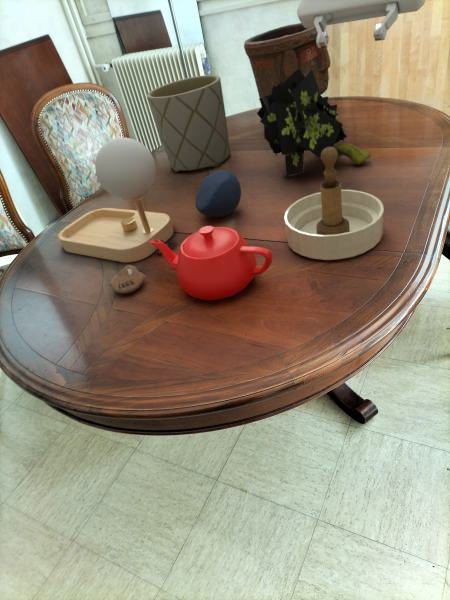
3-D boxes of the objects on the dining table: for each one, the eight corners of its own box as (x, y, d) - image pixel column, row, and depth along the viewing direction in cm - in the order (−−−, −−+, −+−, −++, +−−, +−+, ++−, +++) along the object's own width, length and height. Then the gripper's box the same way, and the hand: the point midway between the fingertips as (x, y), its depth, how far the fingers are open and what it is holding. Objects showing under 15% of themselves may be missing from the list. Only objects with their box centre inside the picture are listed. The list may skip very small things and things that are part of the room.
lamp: (56, 250, 109) (6, 155, 94) (101, 218, 120) (63, 128, 104) (151, 268, 92) (109, 156, 77) (193, 228, 103) (164, 123, 87)
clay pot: (306, 147, 130) (297, 36, 112) (242, 138, 150) (226, 43, 131) (354, 119, 141) (353, 15, 123) (289, 115, 161) (279, 23, 143)
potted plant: (365, 153, 121) (311, 57, 113) (380, 160, 100) (315, 43, 93) (301, 195, 128) (246, 107, 121) (302, 209, 107) (237, 104, 100)
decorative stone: (230, 199, 112) (222, 162, 106) (253, 212, 103) (246, 174, 97) (191, 215, 109) (181, 179, 103) (212, 231, 100) (203, 192, 94)
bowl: (380, 211, 91) (381, 185, 88) (385, 261, 77) (386, 233, 73) (292, 217, 97) (289, 193, 93) (282, 264, 83) (278, 238, 79)
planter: (239, 144, 145) (225, 70, 131) (228, 170, 128) (211, 88, 114) (178, 153, 151) (159, 83, 137) (159, 179, 134) (135, 102, 120)
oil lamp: (159, 280, 89) (134, 273, 94) (155, 263, 87) (129, 257, 92) (128, 300, 83) (103, 292, 88) (123, 283, 81) (97, 275, 86)
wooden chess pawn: (330, 246, 83) (325, 158, 72) (310, 234, 88) (303, 150, 77) (356, 233, 85) (355, 145, 74) (335, 222, 90) (331, 138, 79)
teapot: (287, 262, 83) (280, 207, 76) (264, 314, 72) (253, 255, 65) (178, 258, 93) (162, 209, 86) (144, 302, 82) (123, 250, 75)
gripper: (301, -42, 70) (283, 37, 70) (434, -76, 60) (413, 18, 60) (313, -14, 76) (296, 60, 76) (437, -40, 65) (417, 46, 65)
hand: (349, 42), depth 68 cm, fingers open, 8 cm apart
